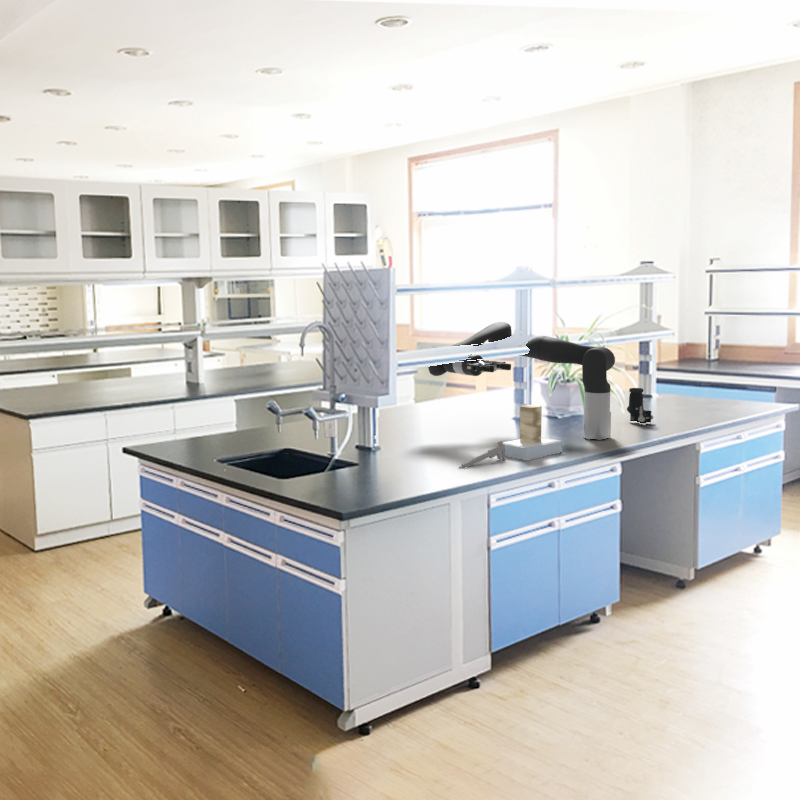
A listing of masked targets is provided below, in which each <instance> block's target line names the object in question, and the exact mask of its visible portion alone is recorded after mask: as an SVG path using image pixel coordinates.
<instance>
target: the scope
mask: <svg viewBox="0 0 800 800" xmlns="http://www.w3.org/2000/svg"><path fill="white" fill-rule="evenodd" d="M628 391H629V396H628V398H629V399H628V406H627V407H626V410H627V412H628V413H629V416H630V417H629V419H630V420H629V422H630V421H637V422H640V423H646V422H651V423H652V420H653V419H654V415H653V414H652V410H645V409H644V388H641V387H631V388H629V390H628Z"/></svg>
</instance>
